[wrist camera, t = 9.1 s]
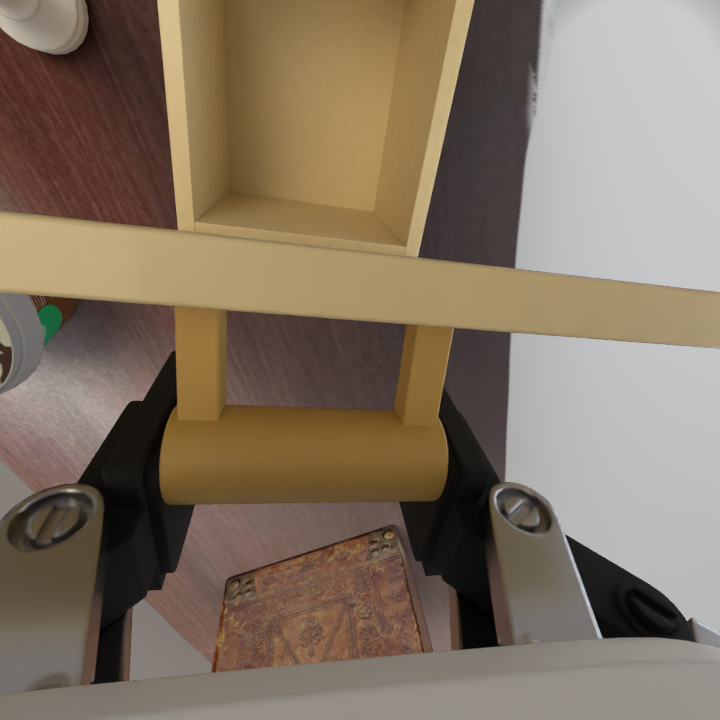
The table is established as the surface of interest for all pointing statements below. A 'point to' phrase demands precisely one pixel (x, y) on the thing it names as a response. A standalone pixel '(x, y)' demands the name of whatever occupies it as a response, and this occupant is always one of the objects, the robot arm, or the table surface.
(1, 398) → the table surface
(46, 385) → the table surface
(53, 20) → the chess pawn
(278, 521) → the table surface
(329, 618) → the book
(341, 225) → the light wooden open box
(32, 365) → the food container
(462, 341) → the table surface
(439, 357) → the lid
